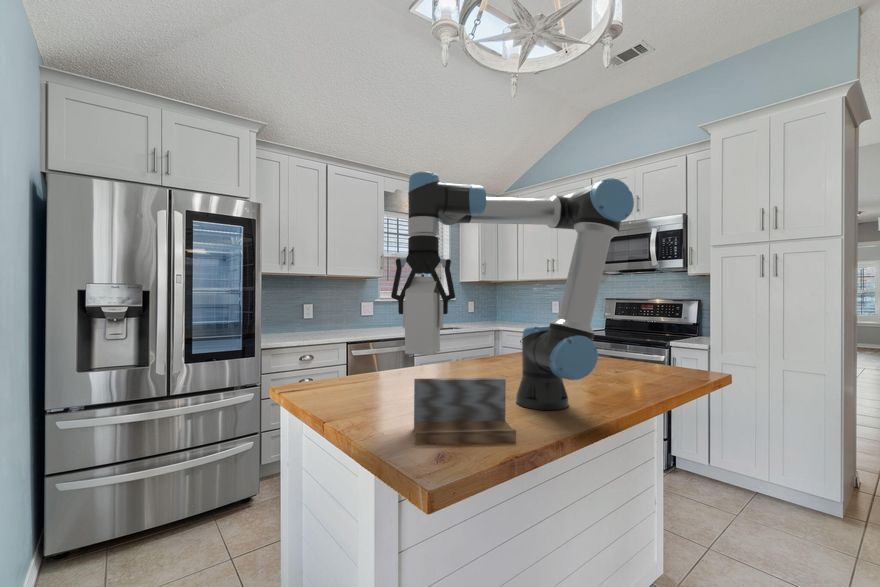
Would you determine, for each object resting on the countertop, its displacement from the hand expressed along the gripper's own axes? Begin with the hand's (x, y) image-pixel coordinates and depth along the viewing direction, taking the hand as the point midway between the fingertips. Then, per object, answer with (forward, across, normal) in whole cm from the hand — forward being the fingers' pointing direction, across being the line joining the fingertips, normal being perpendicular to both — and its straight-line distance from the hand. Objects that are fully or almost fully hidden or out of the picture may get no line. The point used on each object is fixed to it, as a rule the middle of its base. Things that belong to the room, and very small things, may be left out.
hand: (423, 327), depth 102 cm
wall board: (+24, -9, +8) cm, 27 cm away
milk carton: (+7, 0, 0) cm, 7 cm away
